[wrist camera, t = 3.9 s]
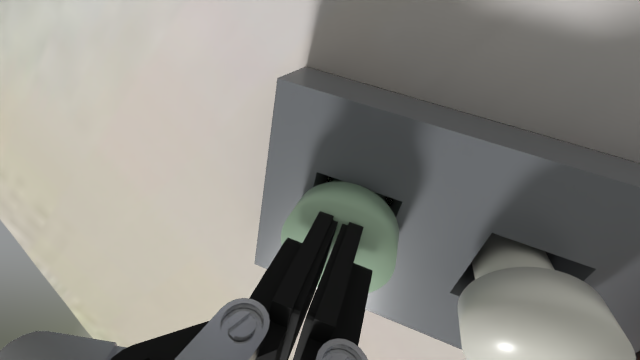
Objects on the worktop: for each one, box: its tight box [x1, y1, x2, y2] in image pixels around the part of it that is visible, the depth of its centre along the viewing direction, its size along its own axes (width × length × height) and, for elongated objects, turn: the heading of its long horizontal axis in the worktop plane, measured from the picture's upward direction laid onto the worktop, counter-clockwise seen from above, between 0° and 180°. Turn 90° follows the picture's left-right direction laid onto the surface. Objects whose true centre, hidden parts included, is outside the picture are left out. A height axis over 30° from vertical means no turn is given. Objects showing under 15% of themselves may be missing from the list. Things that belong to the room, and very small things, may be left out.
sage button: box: [281, 178, 399, 293], centre depth 13 cm, size 4×4×4 cm
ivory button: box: [457, 233, 636, 360], centre depth 11 cm, size 4×4×4 cm
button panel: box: [255, 67, 640, 360], centre depth 13 cm, size 22×10×3 cm, turn 78°
